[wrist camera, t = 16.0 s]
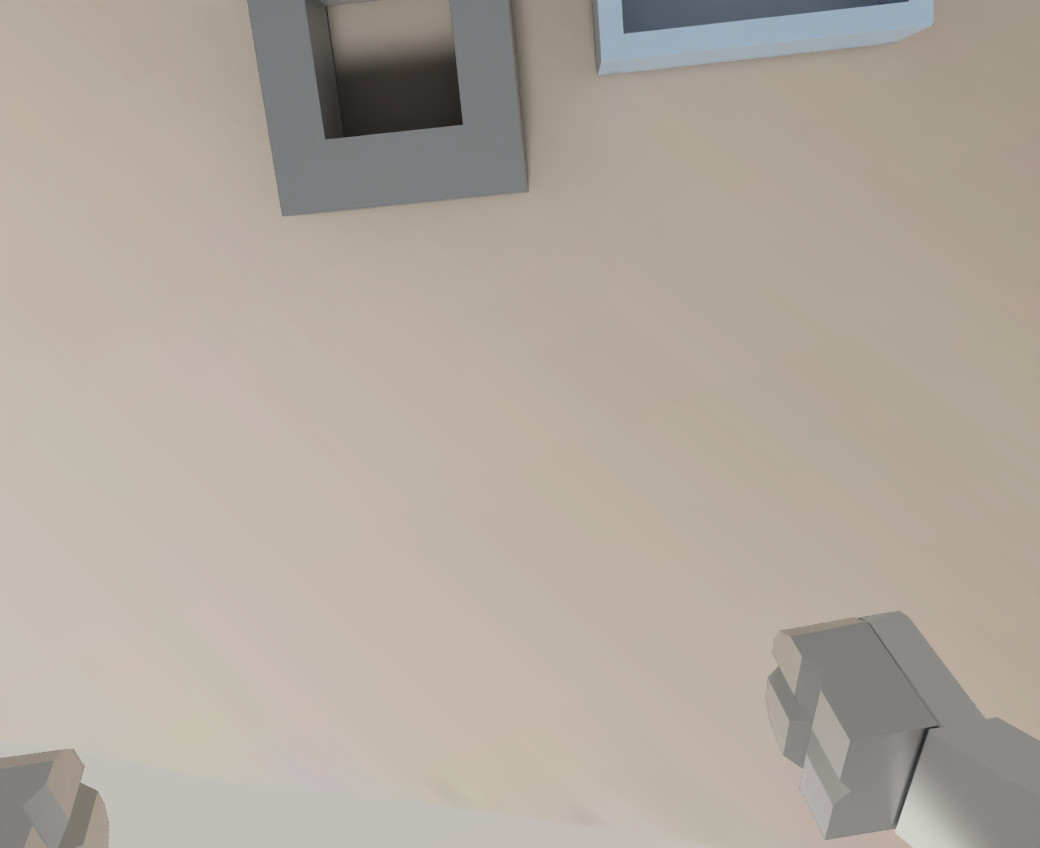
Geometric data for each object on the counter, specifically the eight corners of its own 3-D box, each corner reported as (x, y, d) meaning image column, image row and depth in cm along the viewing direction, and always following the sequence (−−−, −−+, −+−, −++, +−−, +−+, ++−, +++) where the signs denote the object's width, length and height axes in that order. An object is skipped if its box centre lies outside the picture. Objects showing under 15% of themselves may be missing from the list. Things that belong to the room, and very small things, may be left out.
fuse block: (305, 214, 34) (282, 216, 31) (262, -61, 32) (232, -87, 29) (528, 192, 34) (525, 191, 31) (502, -91, 31) (496, -120, 28)
